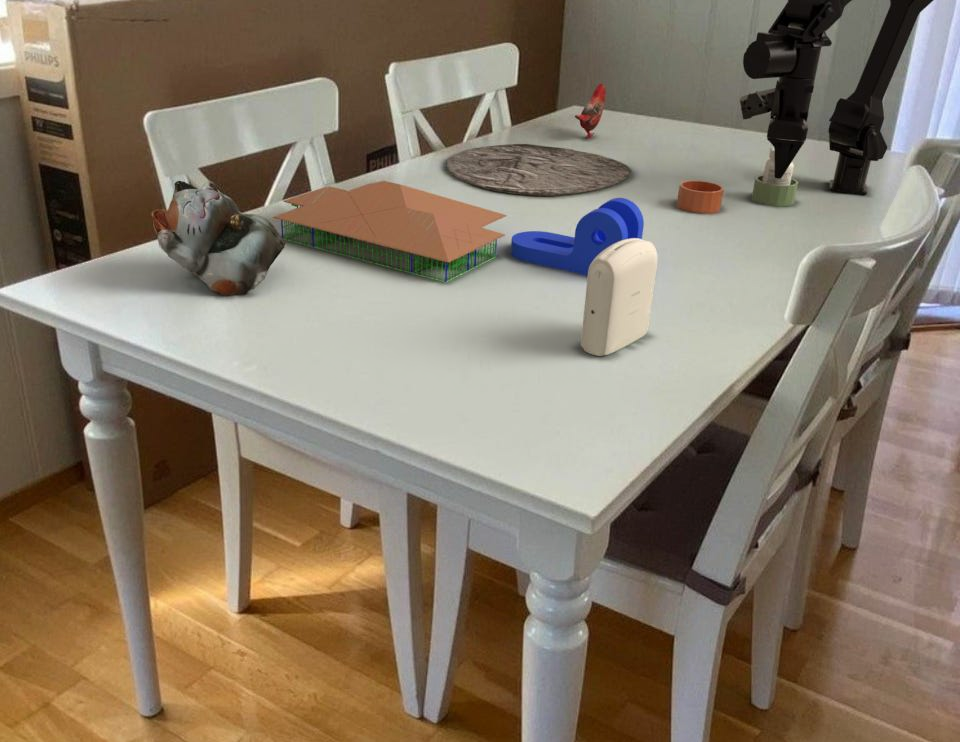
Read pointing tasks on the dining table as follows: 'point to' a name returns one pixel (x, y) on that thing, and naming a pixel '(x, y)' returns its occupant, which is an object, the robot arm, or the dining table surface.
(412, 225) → the house
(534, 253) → the bracket
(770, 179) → the pill bottle
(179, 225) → the lucky cat figurine
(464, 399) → the dining table surface
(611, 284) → the photo printer
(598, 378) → the dining table surface
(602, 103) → the decorative bird figurine
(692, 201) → the terracotta cup
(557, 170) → the worn metal disc
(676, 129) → the dining table surface
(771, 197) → the green cup
